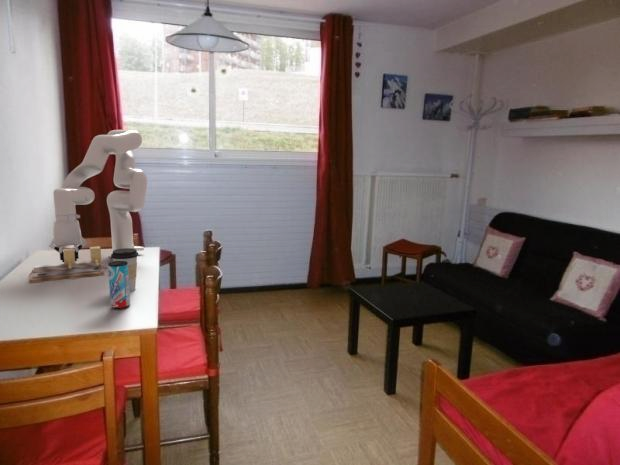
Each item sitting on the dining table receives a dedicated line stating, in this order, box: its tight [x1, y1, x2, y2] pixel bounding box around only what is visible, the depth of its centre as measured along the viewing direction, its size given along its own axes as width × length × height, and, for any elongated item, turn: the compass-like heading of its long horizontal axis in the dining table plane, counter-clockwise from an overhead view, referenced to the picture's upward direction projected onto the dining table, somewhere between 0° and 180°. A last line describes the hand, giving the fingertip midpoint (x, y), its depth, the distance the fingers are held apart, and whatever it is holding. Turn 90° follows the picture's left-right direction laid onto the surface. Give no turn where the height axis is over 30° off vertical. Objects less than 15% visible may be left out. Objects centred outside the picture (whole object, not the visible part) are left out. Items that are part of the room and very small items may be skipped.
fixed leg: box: [89, 245, 102, 268], centre depth 187 cm, size 4×10×7 cm, turn 29°
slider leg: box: [62, 248, 76, 270], centre depth 182 cm, size 4×10×7 cm, turn 29°
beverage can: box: [107, 261, 131, 310], centre depth 144 cm, size 6×6×15 cm
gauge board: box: [29, 260, 105, 284], centre depth 182 cm, size 26×16×3 cm, turn 119°
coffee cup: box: [110, 248, 139, 293], centre depth 161 cm, size 9×9×15 cm
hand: (69, 260), depth 185 cm, fingers closed on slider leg, 4 cm apart
